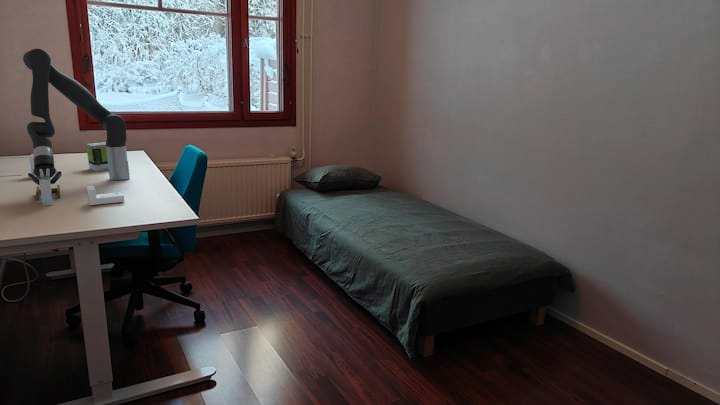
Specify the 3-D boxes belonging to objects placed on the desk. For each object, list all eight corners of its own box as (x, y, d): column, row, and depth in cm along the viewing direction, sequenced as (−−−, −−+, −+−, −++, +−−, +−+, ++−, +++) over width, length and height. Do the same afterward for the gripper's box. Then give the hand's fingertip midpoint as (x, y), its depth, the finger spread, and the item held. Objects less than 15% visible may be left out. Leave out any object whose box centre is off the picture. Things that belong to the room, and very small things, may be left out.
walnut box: (60, 192, 224) (59, 184, 223) (60, 198, 213) (59, 190, 212) (38, 194, 219) (37, 186, 218) (37, 201, 208) (36, 192, 207)
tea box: (116, 166, 287) (114, 141, 283) (122, 168, 280) (120, 143, 276) (88, 168, 276) (85, 143, 273) (94, 171, 269) (91, 145, 266)
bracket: (90, 207, 201) (88, 189, 199) (88, 203, 207) (86, 186, 205) (124, 203, 208) (122, 186, 206) (122, 199, 214) (120, 183, 212)
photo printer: (54, 174, 259) (51, 151, 256) (55, 176, 256) (52, 152, 253) (31, 176, 254) (28, 153, 250) (31, 177, 250) (28, 154, 247)
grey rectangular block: (53, 199, 210) (49, 175, 207) (52, 205, 202) (49, 179, 199) (43, 200, 208) (39, 175, 205) (42, 206, 200) (39, 180, 197)
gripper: (24, 154, 209) (26, 188, 202) (60, 153, 216) (63, 185, 209) (27, 164, 215) (29, 197, 208) (61, 162, 222) (65, 194, 215)
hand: (46, 191), depth 208 cm, fingers closed
